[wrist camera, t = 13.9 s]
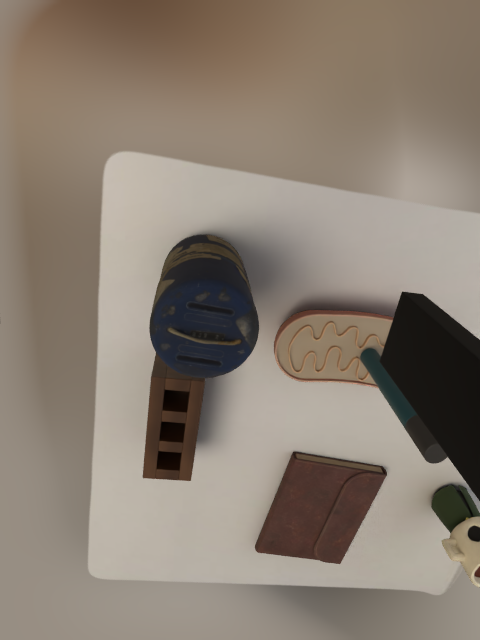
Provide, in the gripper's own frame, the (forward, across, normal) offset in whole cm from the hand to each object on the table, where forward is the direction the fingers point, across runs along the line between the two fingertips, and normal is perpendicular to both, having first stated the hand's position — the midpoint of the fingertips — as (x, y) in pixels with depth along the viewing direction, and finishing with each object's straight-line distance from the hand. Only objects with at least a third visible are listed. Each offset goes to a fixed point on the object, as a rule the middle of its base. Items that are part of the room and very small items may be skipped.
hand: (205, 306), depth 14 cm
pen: (+31, +22, -17) cm, 42 cm away
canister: (+37, +1, -11) cm, 38 cm away
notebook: (+37, +24, -47) cm, 64 cm away
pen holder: (+36, 0, -29) cm, 47 cm away
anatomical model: (+37, +22, -17) cm, 46 cm away
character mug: (+37, +45, -44) cm, 73 cm away
